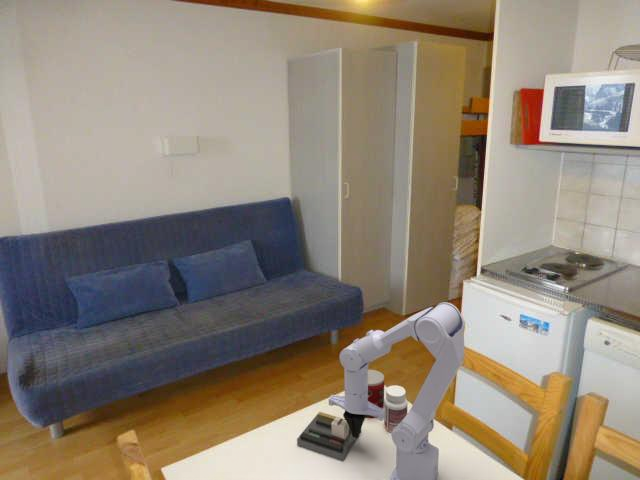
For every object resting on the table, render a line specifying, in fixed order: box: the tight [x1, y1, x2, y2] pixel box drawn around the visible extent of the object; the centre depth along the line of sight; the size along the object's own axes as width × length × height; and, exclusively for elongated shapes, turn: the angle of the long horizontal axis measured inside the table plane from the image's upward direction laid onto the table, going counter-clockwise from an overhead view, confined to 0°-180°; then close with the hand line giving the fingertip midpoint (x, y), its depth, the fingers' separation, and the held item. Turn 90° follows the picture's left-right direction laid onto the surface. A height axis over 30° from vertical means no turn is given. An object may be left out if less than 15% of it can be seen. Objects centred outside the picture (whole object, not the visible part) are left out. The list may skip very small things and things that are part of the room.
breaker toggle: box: [331, 416, 349, 440], centre depth 122 cm, size 4×3×4 cm
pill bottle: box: [383, 385, 408, 434], centre depth 127 cm, size 6×6×11 cm
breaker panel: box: [296, 411, 362, 462], centre depth 124 cm, size 13×12×3 cm
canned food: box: [365, 369, 385, 419], centre depth 134 cm, size 8×8×11 cm
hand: (356, 435), depth 120 cm, fingers closed
